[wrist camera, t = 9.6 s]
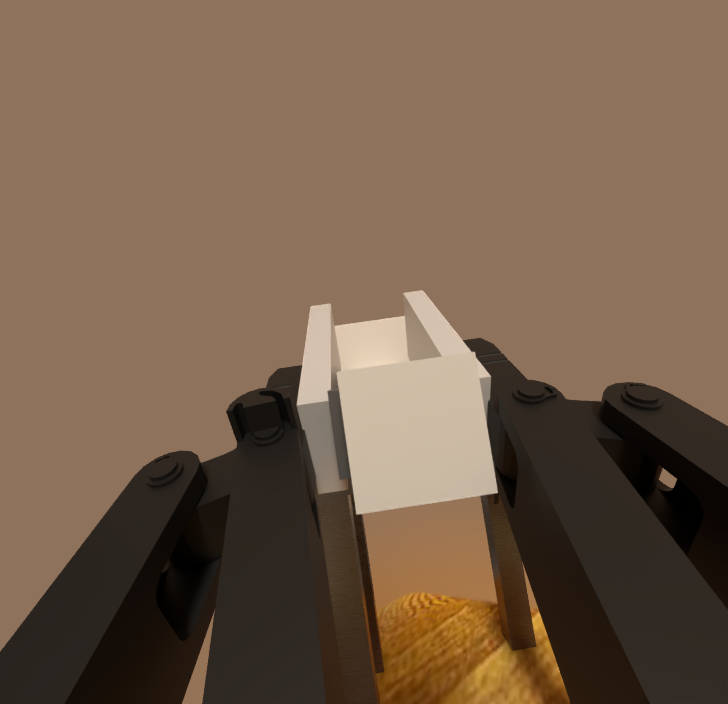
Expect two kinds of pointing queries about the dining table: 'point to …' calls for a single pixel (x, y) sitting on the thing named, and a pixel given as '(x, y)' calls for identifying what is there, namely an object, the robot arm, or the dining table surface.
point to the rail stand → (357, 595)
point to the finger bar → (407, 421)
